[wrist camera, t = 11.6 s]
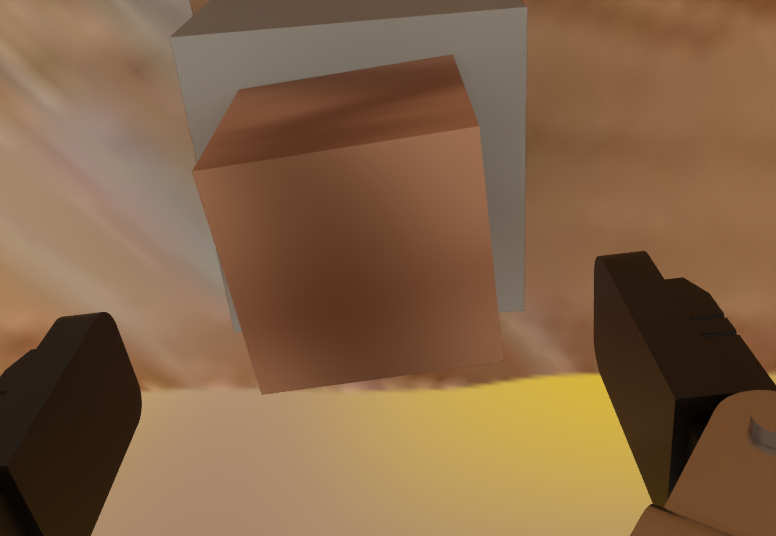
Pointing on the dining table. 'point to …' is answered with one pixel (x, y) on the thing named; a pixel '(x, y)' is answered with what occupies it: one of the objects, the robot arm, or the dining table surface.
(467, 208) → the terracotta cube
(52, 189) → the dining table surface
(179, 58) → the tower top
